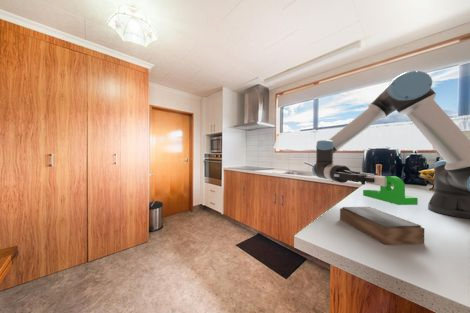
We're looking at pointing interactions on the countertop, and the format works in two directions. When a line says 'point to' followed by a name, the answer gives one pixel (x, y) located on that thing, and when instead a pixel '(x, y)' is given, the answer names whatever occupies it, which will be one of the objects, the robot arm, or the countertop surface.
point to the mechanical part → (392, 193)
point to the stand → (382, 225)
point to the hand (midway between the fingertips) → (389, 182)
